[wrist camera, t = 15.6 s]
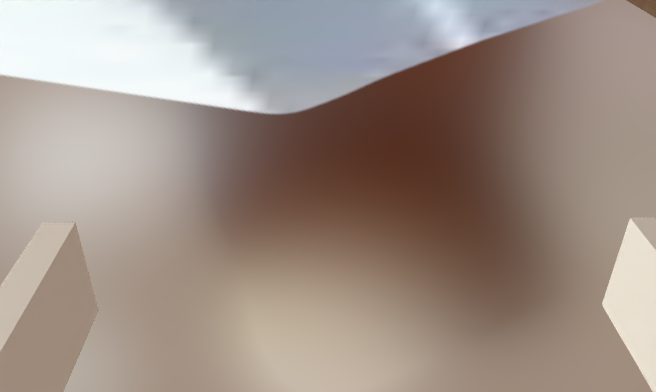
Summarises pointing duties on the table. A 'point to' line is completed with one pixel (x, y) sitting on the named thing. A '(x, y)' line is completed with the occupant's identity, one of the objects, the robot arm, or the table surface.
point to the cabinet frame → (646, 5)
